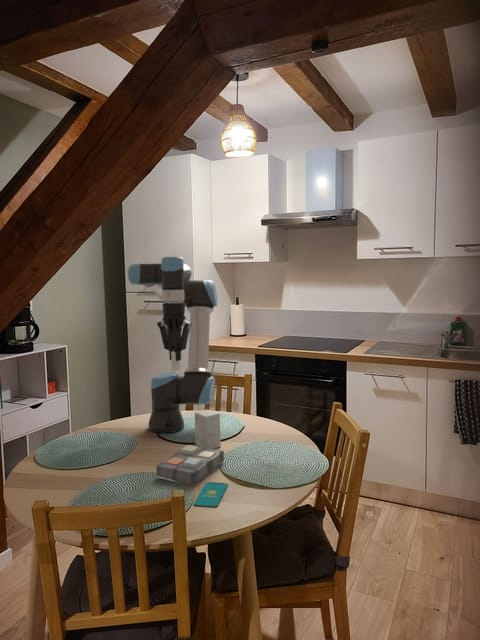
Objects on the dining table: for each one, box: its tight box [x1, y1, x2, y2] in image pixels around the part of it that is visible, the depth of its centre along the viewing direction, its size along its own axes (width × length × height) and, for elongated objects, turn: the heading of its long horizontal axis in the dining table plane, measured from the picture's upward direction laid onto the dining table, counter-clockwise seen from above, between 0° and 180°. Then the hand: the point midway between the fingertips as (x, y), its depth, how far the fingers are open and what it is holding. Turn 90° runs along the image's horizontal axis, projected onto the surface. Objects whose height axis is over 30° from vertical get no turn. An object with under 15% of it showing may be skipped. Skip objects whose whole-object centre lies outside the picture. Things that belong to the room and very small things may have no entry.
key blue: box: [183, 457, 202, 469], centre depth 156 cm, size 4×4×3 cm
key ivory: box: [198, 451, 215, 459], centre depth 164 cm, size 4×4×3 cm
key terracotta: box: [166, 457, 185, 466], centre depth 158 cm, size 4×4×3 cm
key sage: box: [180, 444, 199, 456], centre depth 167 cm, size 4×4×3 cm
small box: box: [194, 408, 222, 449], centre depth 183 cm, size 8×6×13 cm
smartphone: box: [192, 481, 229, 508], centre depth 144 cm, size 7×1×15 cm
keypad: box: [156, 446, 225, 487], centre depth 161 cm, size 14×20×4 cm
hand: (175, 369), depth 167 cm, fingers closed
